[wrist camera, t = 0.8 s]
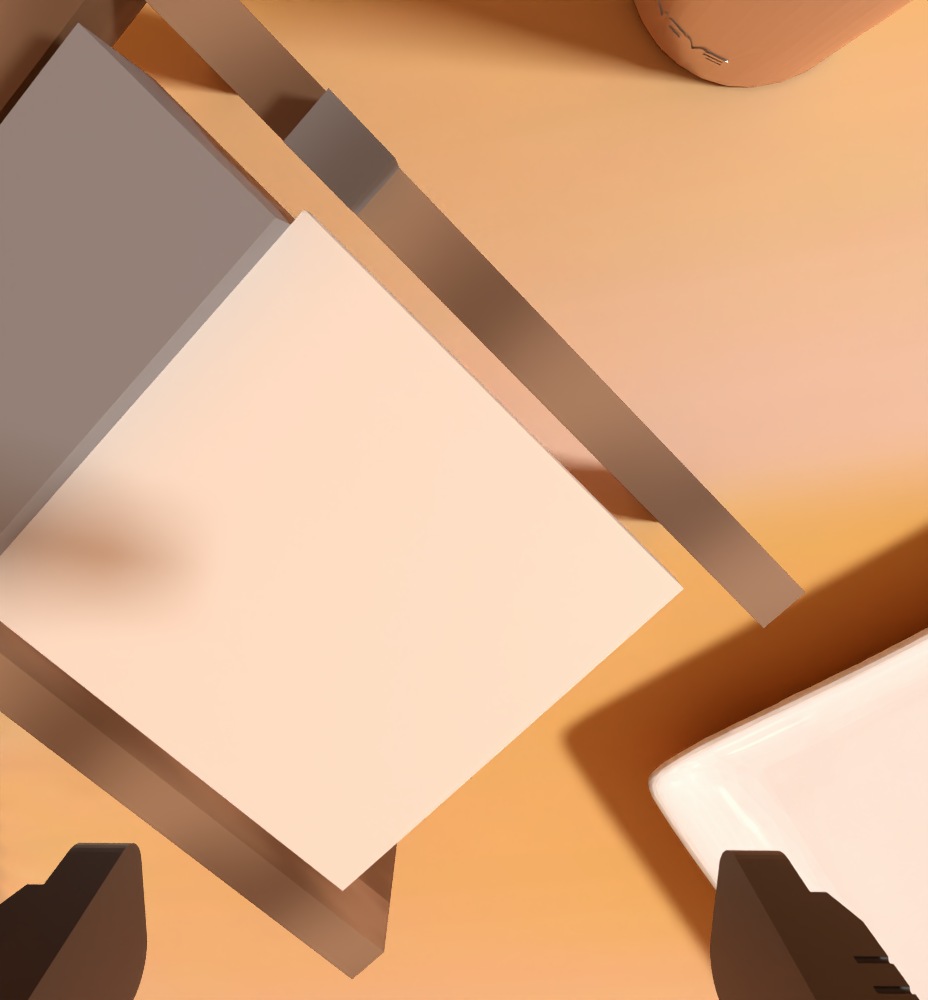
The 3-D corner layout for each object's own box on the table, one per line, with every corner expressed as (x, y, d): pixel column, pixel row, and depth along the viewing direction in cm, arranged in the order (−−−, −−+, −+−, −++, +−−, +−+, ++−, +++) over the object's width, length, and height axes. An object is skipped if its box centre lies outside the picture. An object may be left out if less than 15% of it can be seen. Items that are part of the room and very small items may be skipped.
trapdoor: (-134, 440, 22) (-263, 469, 18) (166, 64, 19) (92, 3, 16) (353, 835, 25) (335, 930, 21) (660, 559, 23) (700, 610, 19)
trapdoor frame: (-65, 402, 30) (-391, 461, 18) (238, 29, 26) (70, -182, 15) (384, 778, 34) (346, 1013, 23) (691, 498, 31) (826, 609, 19)
